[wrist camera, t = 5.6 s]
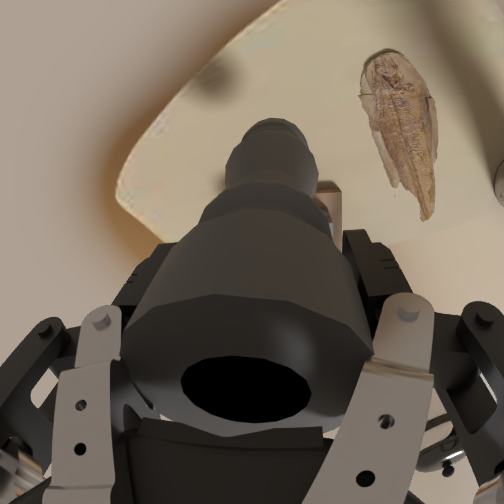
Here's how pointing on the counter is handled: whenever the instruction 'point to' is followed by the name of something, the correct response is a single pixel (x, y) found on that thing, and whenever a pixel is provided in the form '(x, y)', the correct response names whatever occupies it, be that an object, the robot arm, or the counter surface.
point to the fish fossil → (402, 125)
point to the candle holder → (253, 304)
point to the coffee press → (439, 441)
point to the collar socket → (331, 211)
